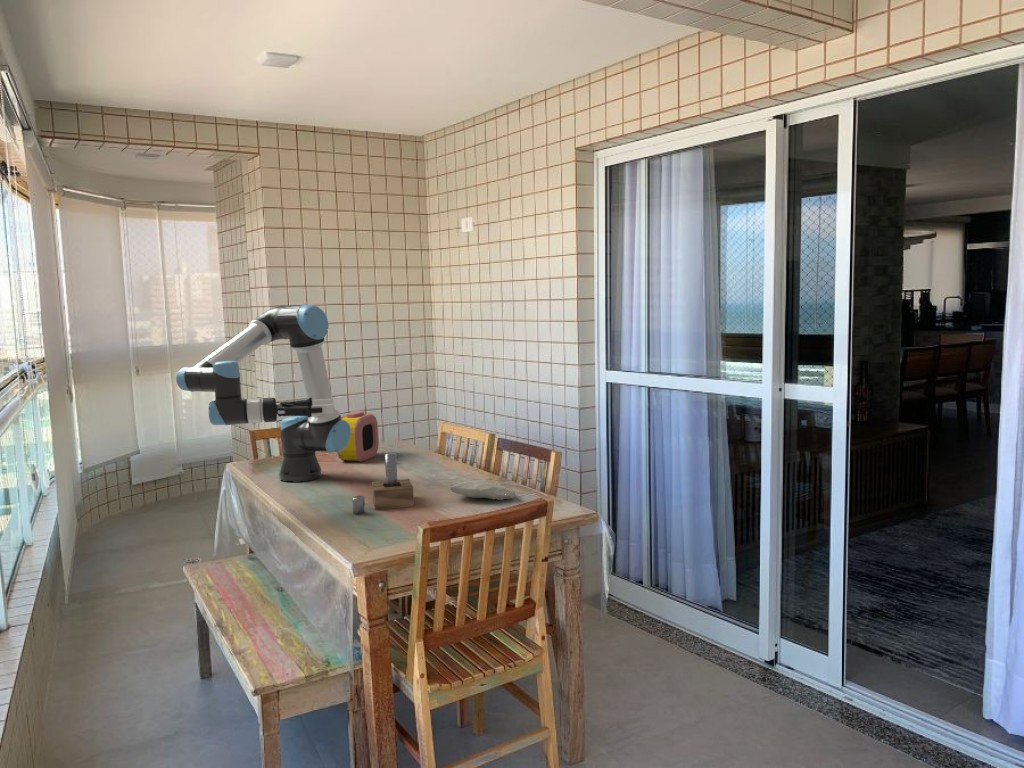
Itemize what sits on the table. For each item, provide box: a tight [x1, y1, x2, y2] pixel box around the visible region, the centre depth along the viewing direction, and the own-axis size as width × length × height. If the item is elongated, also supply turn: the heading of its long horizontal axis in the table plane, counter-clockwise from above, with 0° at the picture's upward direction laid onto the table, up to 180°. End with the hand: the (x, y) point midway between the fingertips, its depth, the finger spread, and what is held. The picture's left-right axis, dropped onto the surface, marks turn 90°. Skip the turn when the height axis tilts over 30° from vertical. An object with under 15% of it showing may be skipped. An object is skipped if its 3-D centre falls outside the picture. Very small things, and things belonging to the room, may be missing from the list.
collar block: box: [371, 478, 415, 511], centre depth 246 cm, size 12×12×6 cm
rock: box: [450, 478, 517, 501], centre depth 250 cm, size 24×6×20 cm
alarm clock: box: [336, 410, 380, 462], centre depth 314 cm, size 18×11×19 cm, turn 164°
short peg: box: [351, 495, 366, 516], centre depth 236 cm, size 4×4×5 cm
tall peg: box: [384, 452, 398, 487], centre depth 245 cm, size 4×4×16 cm
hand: (333, 405), depth 243 cm, fingers open, 13 cm apart
